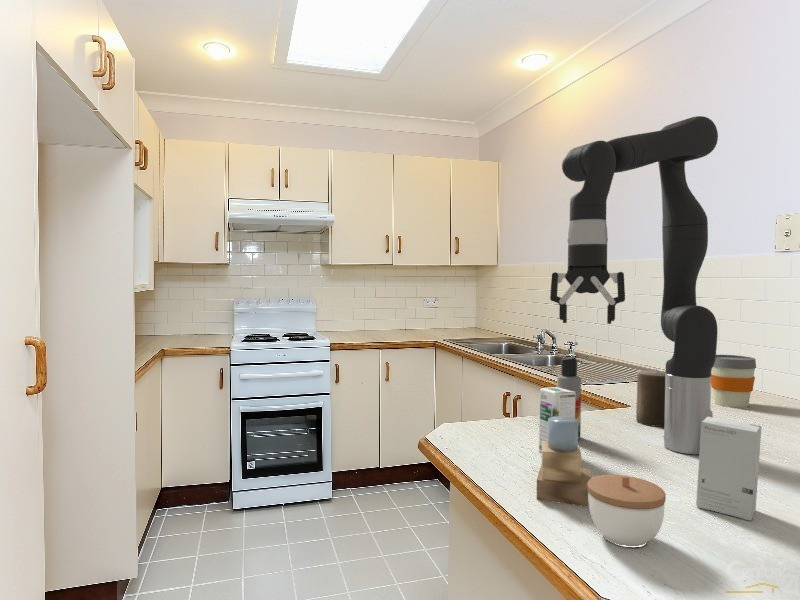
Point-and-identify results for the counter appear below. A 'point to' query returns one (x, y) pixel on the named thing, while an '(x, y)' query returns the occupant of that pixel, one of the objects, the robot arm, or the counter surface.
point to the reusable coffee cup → (733, 380)
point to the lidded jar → (626, 508)
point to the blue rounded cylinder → (563, 434)
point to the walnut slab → (564, 489)
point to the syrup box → (554, 408)
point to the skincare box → (728, 467)
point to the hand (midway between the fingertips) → (586, 323)
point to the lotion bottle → (571, 384)
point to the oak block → (561, 464)
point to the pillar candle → (651, 398)
